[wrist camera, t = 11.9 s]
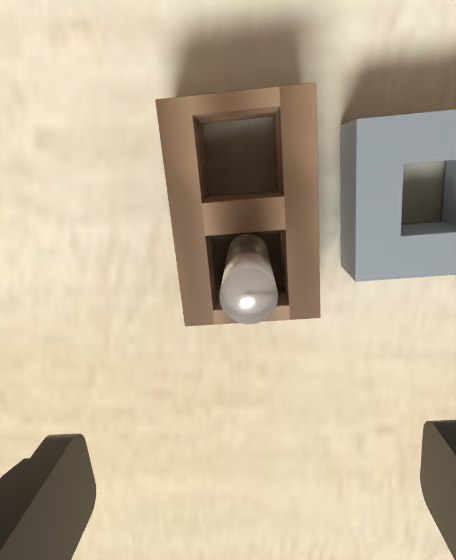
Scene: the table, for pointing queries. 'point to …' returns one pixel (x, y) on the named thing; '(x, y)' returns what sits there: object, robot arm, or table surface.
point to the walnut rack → (243, 197)
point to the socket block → (395, 196)
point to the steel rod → (248, 281)
